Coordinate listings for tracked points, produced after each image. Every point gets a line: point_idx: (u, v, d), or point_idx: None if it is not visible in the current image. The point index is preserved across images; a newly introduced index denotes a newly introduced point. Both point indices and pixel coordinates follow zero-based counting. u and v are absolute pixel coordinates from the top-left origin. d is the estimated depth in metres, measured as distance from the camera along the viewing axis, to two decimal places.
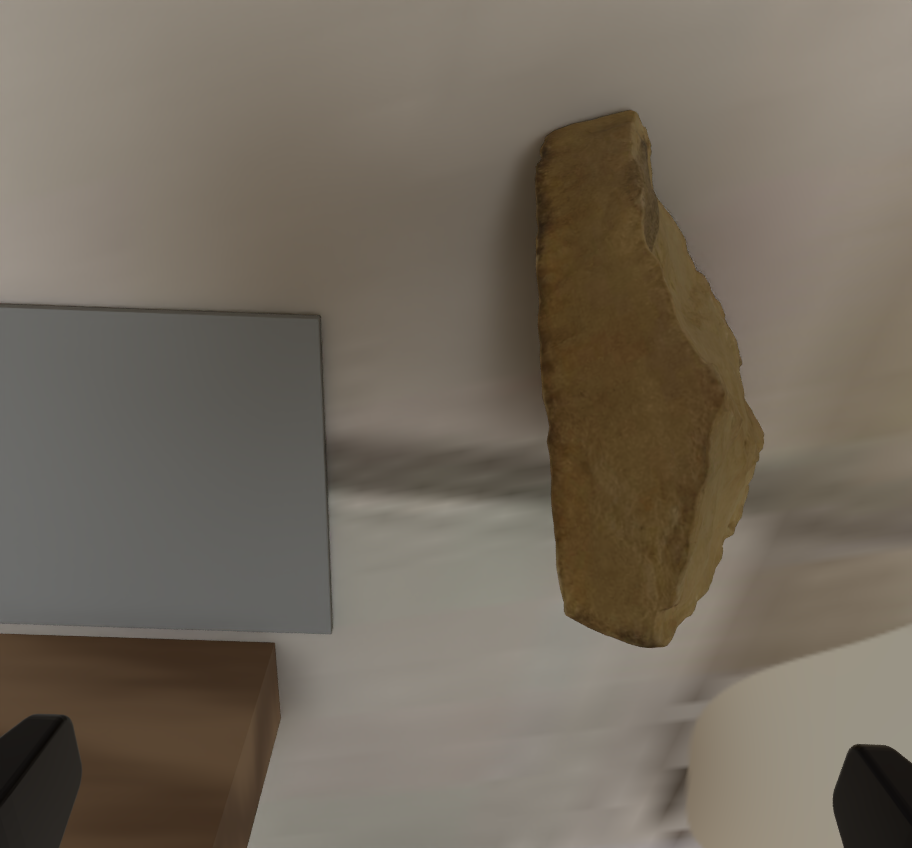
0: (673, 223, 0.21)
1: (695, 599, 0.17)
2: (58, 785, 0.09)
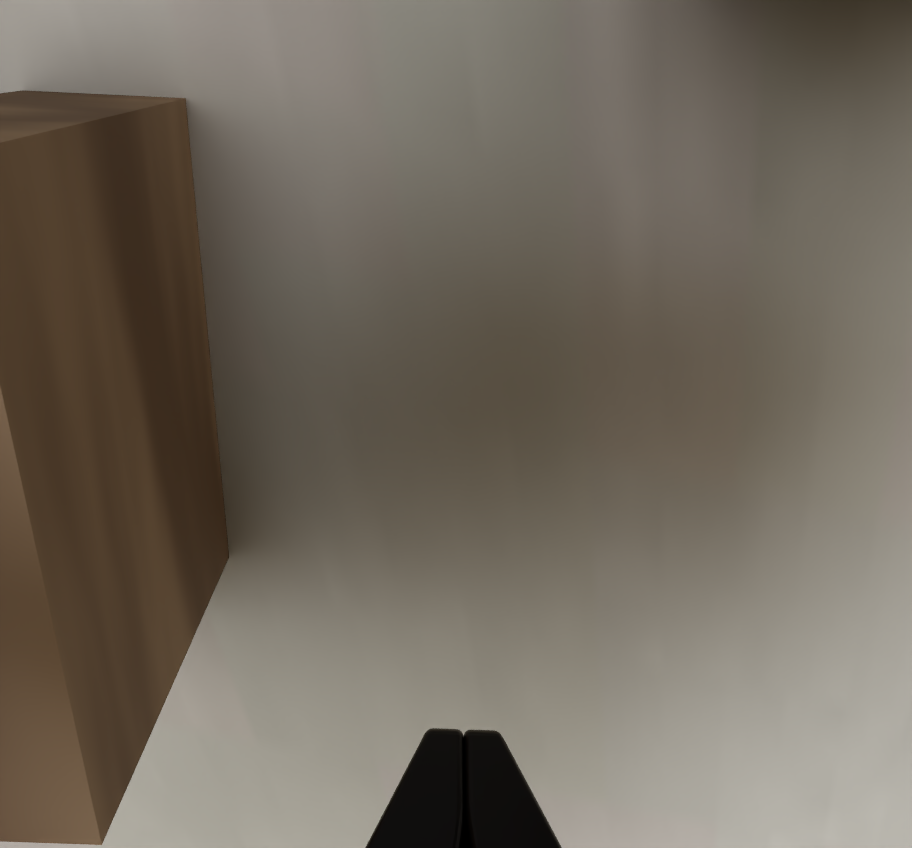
0: None
1: None
2: None
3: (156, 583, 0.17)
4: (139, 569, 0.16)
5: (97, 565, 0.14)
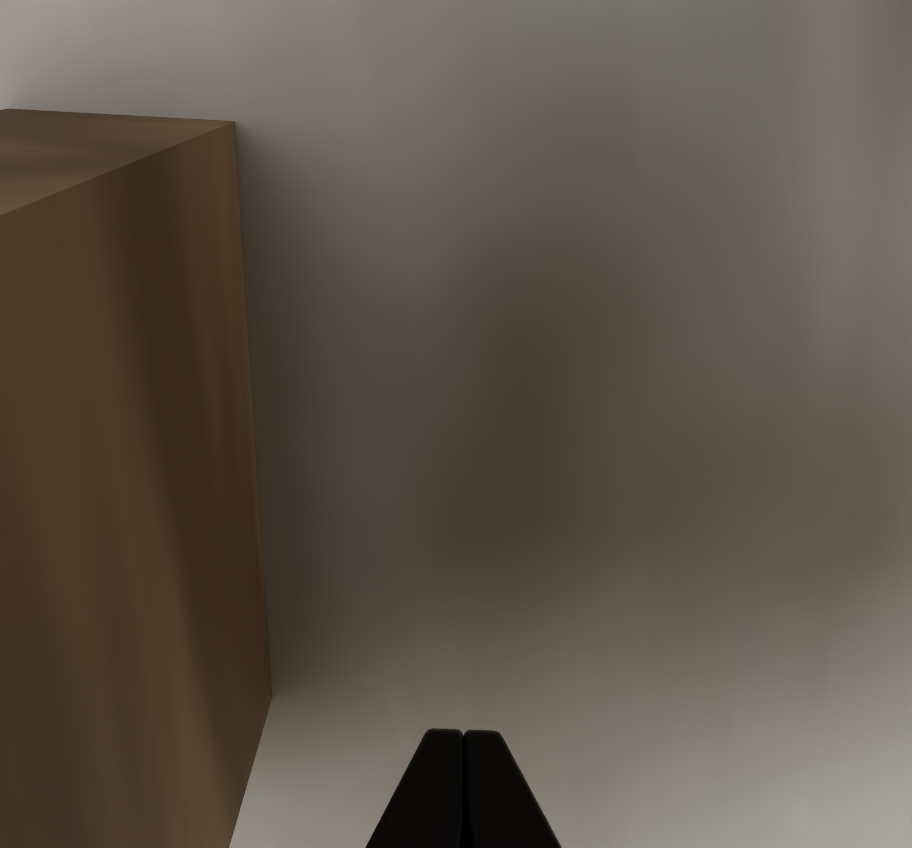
0: None
1: None
2: None
3: (191, 803, 0.12)
4: (170, 803, 0.11)
5: None
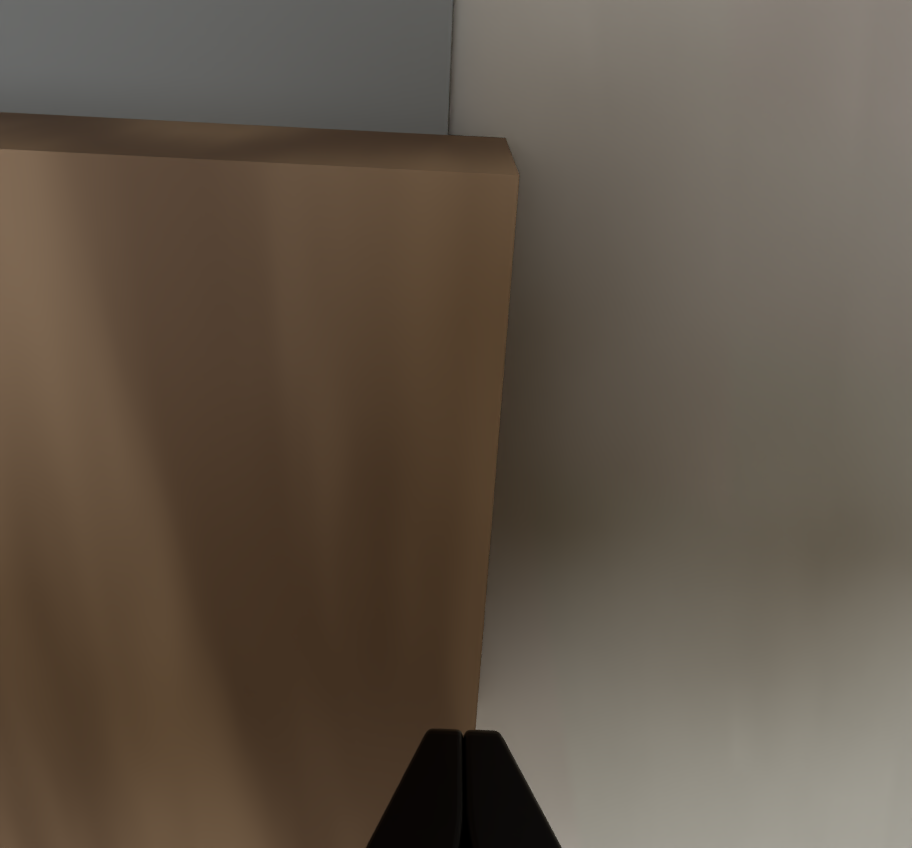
0: None
1: None
2: None
3: (162, 737, 0.13)
4: (113, 697, 0.13)
5: None
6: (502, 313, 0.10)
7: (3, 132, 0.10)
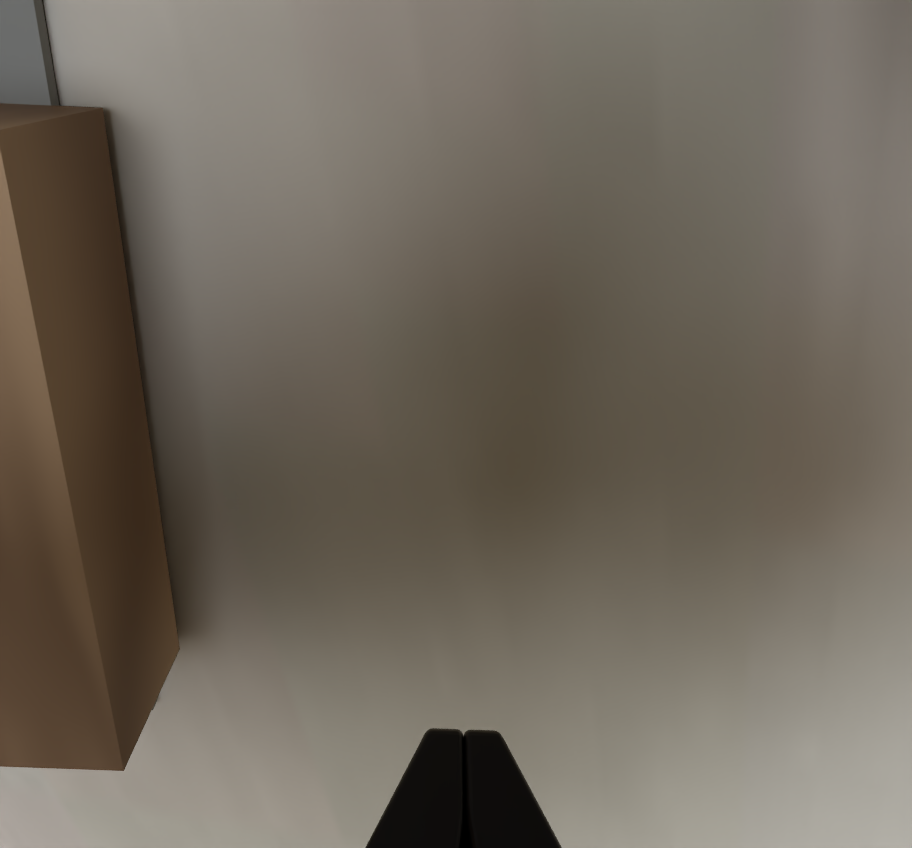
0: None
1: None
2: None
3: None
4: None
5: None
6: (16, 253, 0.11)
7: None
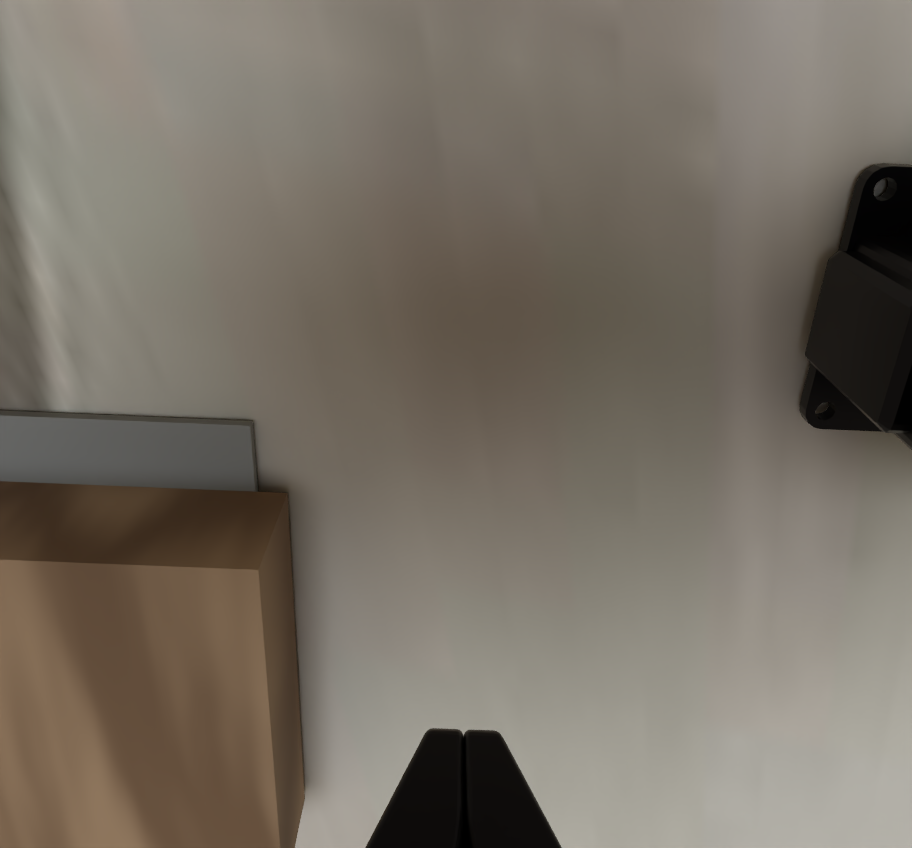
0: None
1: None
2: None
3: (99, 826, 0.23)
4: (70, 805, 0.22)
5: (2, 770, 0.22)
6: (259, 624, 0.20)
7: (7, 526, 0.20)
